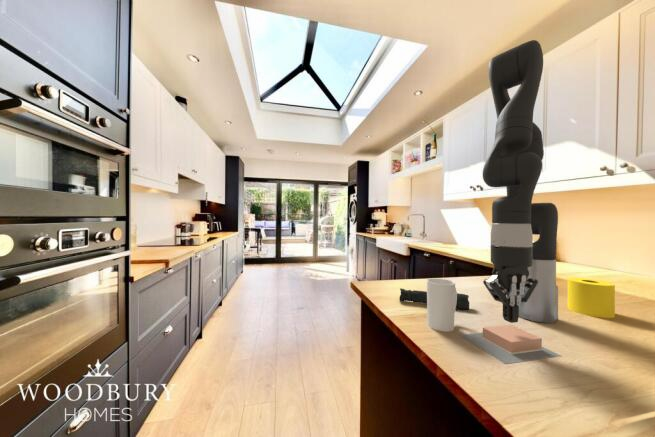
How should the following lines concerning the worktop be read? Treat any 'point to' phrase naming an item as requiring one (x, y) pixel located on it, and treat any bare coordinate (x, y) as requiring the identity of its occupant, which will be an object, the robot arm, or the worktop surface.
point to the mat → (503, 355)
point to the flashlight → (422, 298)
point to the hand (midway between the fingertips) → (510, 321)
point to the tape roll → (591, 297)
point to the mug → (441, 304)
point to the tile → (512, 339)
